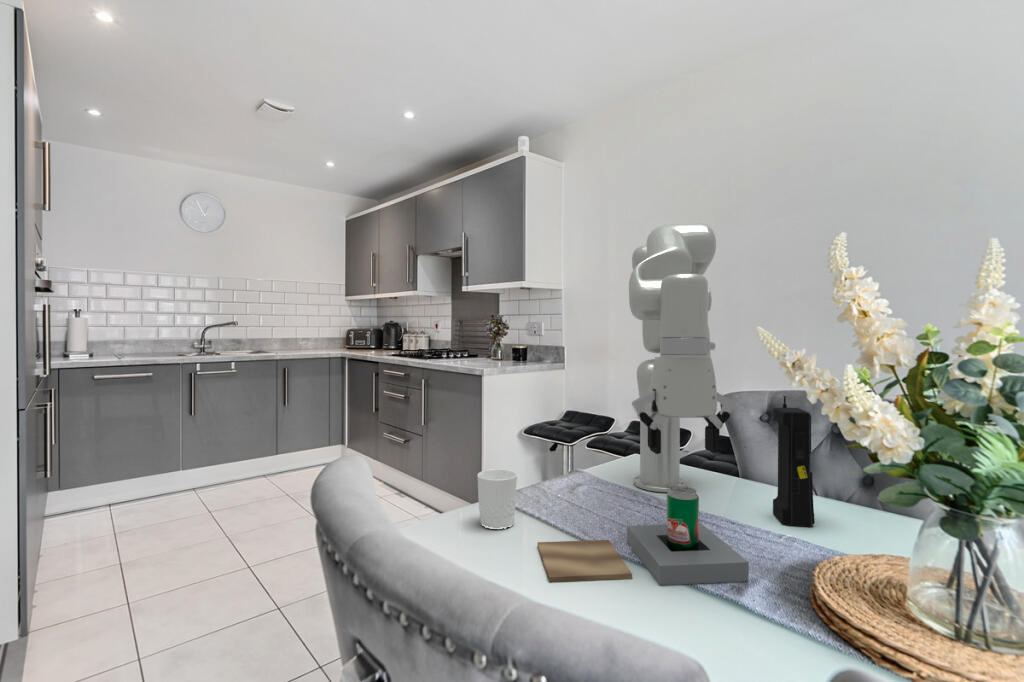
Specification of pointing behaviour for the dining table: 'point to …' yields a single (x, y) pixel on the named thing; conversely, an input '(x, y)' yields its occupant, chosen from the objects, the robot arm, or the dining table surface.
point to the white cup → (497, 497)
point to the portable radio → (794, 468)
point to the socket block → (687, 557)
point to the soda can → (682, 519)
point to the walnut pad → (582, 561)
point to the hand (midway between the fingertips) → (683, 451)
